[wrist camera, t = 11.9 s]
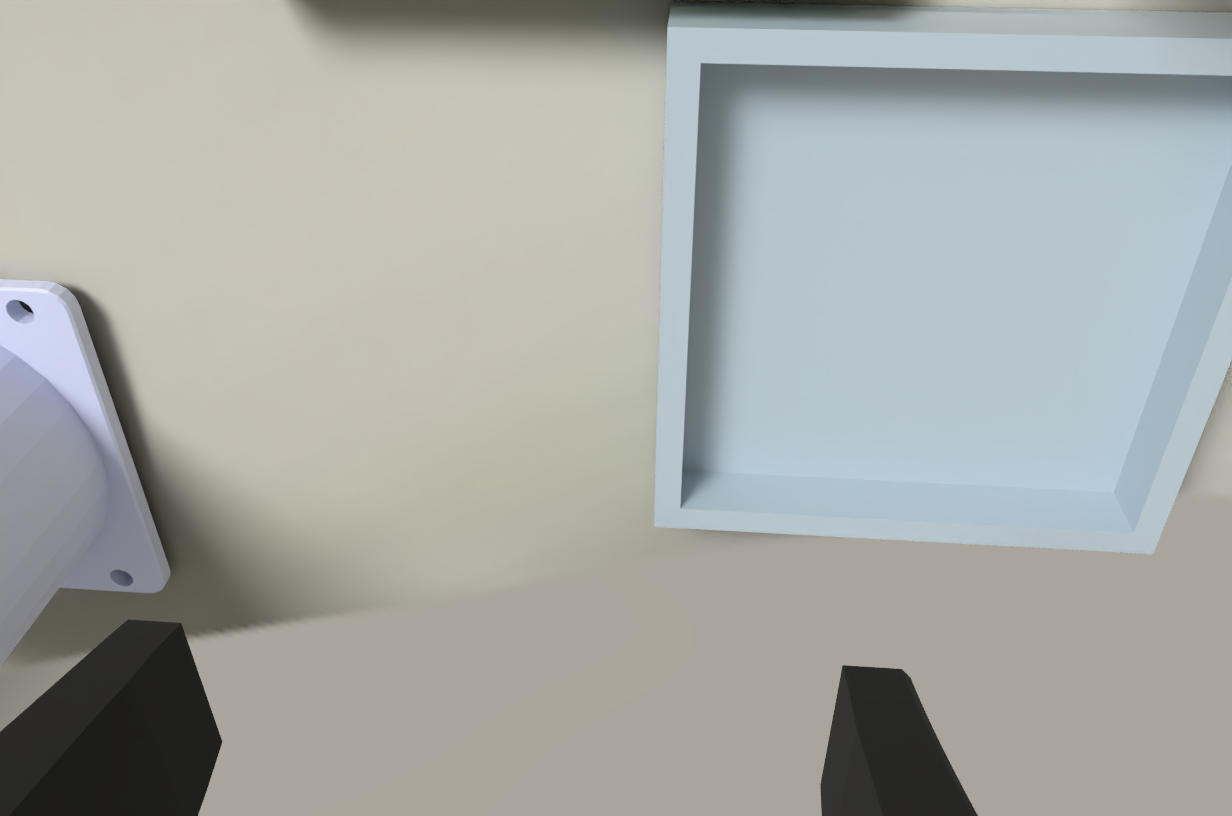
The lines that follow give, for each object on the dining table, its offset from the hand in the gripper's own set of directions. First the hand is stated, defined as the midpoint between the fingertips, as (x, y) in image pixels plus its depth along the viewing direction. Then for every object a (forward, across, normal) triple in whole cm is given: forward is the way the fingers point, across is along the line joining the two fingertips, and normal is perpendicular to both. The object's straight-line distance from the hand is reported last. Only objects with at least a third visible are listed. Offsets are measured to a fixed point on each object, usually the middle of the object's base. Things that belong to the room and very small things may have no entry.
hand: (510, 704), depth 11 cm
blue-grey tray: (+9, -6, 0) cm, 11 cm away
